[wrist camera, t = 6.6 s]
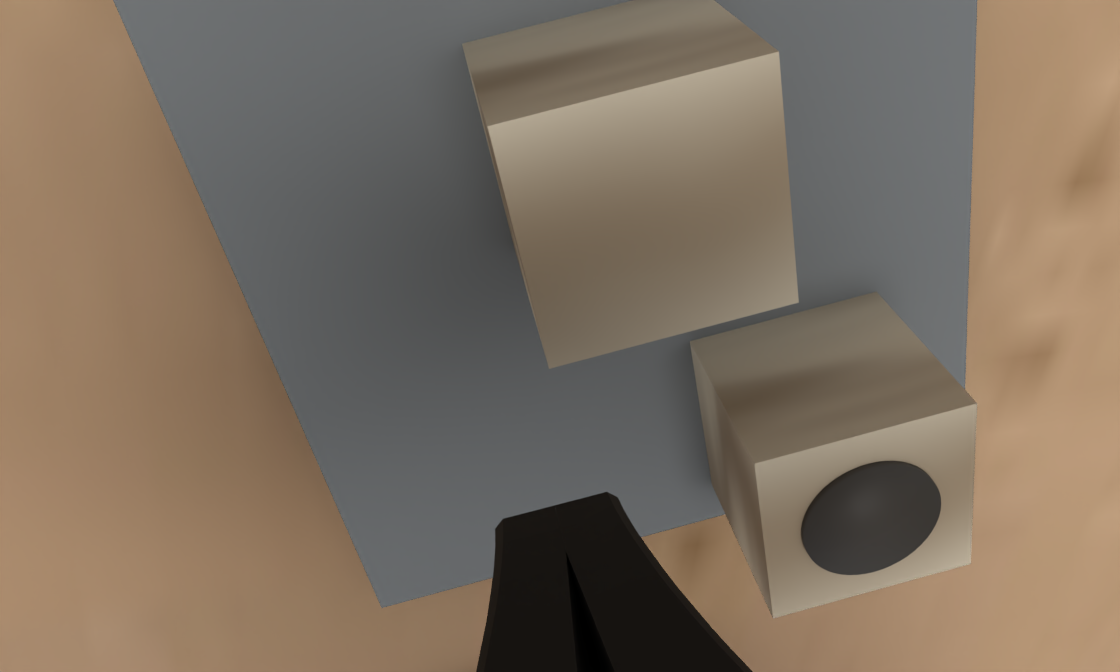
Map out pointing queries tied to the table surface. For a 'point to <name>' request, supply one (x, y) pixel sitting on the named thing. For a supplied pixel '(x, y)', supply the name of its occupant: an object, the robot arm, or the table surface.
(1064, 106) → the table surface
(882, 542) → the dotted block
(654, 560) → the robot arm
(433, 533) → the tapping mat
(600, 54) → the plain block
